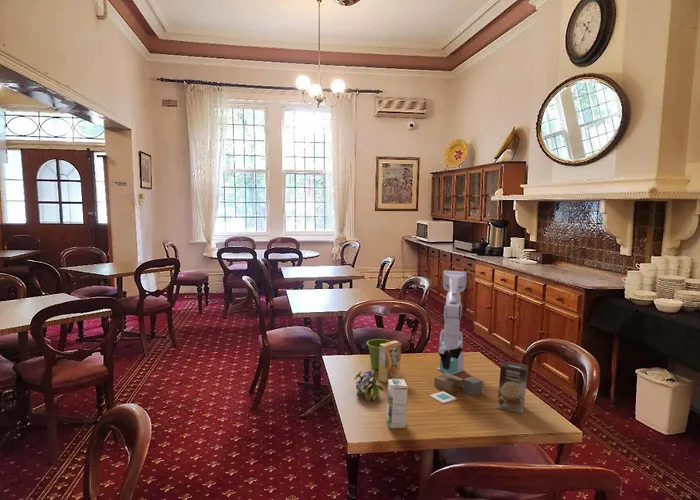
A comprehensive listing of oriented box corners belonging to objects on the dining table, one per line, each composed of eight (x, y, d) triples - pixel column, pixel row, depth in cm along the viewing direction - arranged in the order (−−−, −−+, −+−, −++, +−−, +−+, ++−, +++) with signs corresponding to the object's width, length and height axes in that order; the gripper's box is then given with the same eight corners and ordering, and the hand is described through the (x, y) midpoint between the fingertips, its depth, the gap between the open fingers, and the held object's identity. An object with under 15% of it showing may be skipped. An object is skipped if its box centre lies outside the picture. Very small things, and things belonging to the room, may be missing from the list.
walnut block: (446, 382, 180) (447, 372, 180) (462, 388, 174) (463, 379, 174) (434, 386, 175) (434, 377, 175) (450, 394, 169) (451, 384, 169)
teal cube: (446, 367, 178) (447, 355, 177) (457, 370, 174) (458, 358, 174) (439, 370, 174) (440, 358, 174) (450, 374, 171) (451, 361, 170)
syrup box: (385, 419, 147) (387, 378, 146) (402, 419, 148) (404, 378, 146) (388, 428, 142) (390, 385, 140) (406, 428, 142) (408, 385, 140)
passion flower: (358, 407, 167) (352, 376, 172) (386, 402, 168) (379, 371, 173) (358, 403, 157) (352, 370, 162) (388, 397, 158) (380, 364, 163)
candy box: (393, 375, 185) (394, 340, 184) (400, 378, 182) (401, 342, 180) (377, 379, 180) (379, 343, 178) (384, 383, 177) (386, 346, 175)
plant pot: (378, 360, 201) (379, 337, 200) (398, 368, 193) (399, 343, 191) (360, 366, 193) (361, 342, 192) (379, 375, 185) (380, 349, 184)
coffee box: (496, 408, 158) (499, 365, 156) (498, 401, 164) (501, 359, 162) (523, 414, 154) (527, 370, 152) (524, 406, 160) (528, 364, 158)
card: (443, 392, 170) (443, 390, 170) (456, 399, 164) (456, 397, 164) (429, 396, 166) (430, 394, 166) (443, 403, 160) (443, 402, 160)
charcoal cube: (471, 388, 174) (472, 376, 174) (481, 393, 170) (482, 380, 170) (463, 391, 172) (464, 378, 171) (473, 396, 167) (474, 383, 167)
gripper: (452, 328, 180) (450, 359, 182) (432, 335, 170) (430, 368, 171) (467, 331, 175) (465, 364, 177) (448, 339, 165) (446, 373, 167)
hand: (449, 366), depth 174 cm, fingers closed on teal cube, 5 cm apart
